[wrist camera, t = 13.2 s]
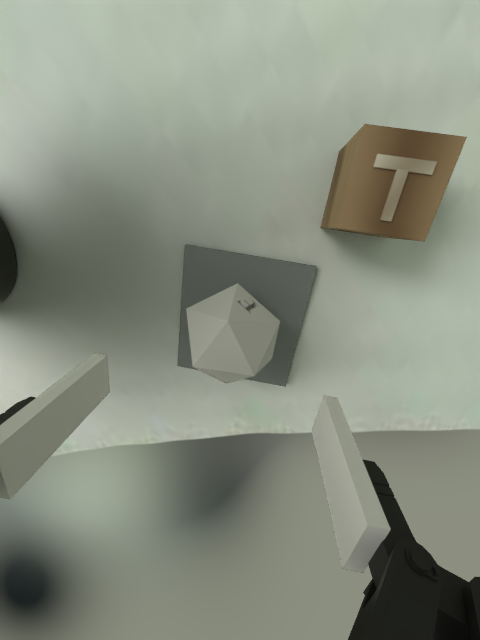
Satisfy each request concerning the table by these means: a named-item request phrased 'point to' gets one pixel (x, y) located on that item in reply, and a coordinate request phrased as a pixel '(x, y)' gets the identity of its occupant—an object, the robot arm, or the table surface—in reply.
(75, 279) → the table surface
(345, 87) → the table surface
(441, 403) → the table surface
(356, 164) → the letter block
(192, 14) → the table surface
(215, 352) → the die
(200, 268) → the grey mat
